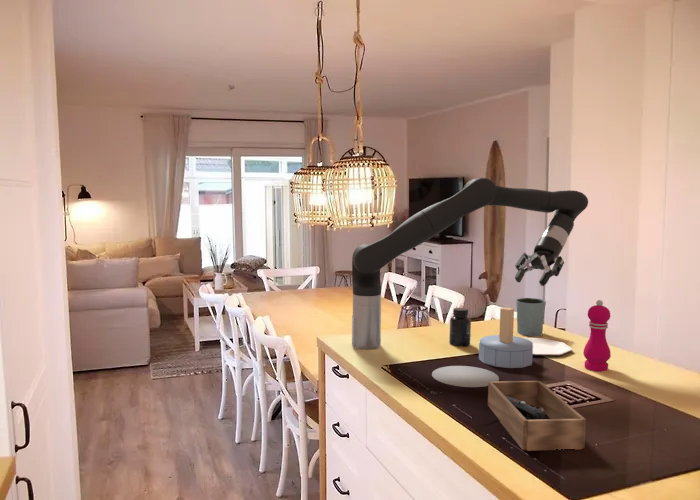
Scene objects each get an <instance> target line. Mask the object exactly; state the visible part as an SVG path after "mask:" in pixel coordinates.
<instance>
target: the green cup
mask: <svg viewBox="0 0 700 500" xmlns="http://www.w3.org/2000/svg"><path fill="white" fill-rule="evenodd" d="M515 304H516V305H515V306H516V328H517V329H516V333H518V334H519V335H521V336H526V337H540V336H542V335H543V329H544V326H543V325H544V319H545V309H546V304H547V301H546V300H544V299H541V298H535V297H520V298H519V297H518V298H517V299H515Z"/></svg>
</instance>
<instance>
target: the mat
mask: <svg viewBox="0 0 700 500" xmlns="http://www.w3.org/2000/svg"><path fill="white" fill-rule="evenodd" d="M431 376H432V378H433V379H434V380H436V381H438V382H440V383H442V384H446V385H450V386H455V387H463V388H482V387H488V383H489V382H491V381H499V380H500V378H499V375H498V374H496V372H493V371H491V370H489V369H485V368H481V367H476V366H468V365H449V366H448V365H447V366H442V367H438V368H437V369H434V370H433V371H432V373H431Z"/></svg>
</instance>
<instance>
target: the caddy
mask: <svg viewBox="0 0 700 500" xmlns="http://www.w3.org/2000/svg"><path fill="white" fill-rule="evenodd" d="M487 387H488V389H487V392H488V393H487V407H489V409H490V410H491V411H492V412H493V414H494V415H495V416H496V418H497V420H498V421H499V423H500V424H501V425H502V426H503V428H505V430H506V431H507V433H508V434H509V436H510V437H512V439H513V440H514V441H515V442H516V444H517V445H518V446H519V447H520V449H521V450H523V451H529V452H530V451H531V452H532V451H565V450H564V449H575V450H582V449H585V446H586V445H585V444H586V442H585V441H586V426H587V425H586V423H587V419H586V418H585V417H584V416H583V415H581V414H580V412H578V411H577V410H575V408H573V407H572V406H571V405H570V404H568V403H567V402H566V401H565V400H564V399H562V398H561V397H560V396H558V394H557V393H556V392H554V391H553V390H552V389H551V388H550V387H548V386H547V385H546V384H545V383H543V382H542V381H540V380H505V381H504V380H503V381H491V382H489V383H488V386H487ZM505 396H508V397H511V398H514V399H517V400H519V401H524V402H525V403H526V404H528V405H530V406H532V407H533V408H534V407H536V408H537V409H539V408H540V409H543V410H544V415H545V416H546V415H547V418H548V419H547V418H546V419H536V420H527V419H526V418H525V417H524V416H523V415H522V414H521V413H520V412H519V411H518V410H517V409H516V407H515V406H514V405H513V404H512V403H511V402H510V401H509V400H508V399H507V398H506V397H505ZM556 449H558V450H556ZM561 449H563V450H561Z"/></svg>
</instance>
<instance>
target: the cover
mask: <svg viewBox="0 0 700 500" xmlns="http://www.w3.org/2000/svg"><path fill="white" fill-rule="evenodd" d="M499 310H500V311H499V314H500V315H499V335H498V334H495V335H486V336H483V337H481V338H479V345H478V360H479V361H481V362H482V363H483V364H485V365H489V366H493V367H496V368H497V367H498V368H506V369H515V368H516V369H521V368H525V367H529V366H532V364H533V356H534V355H533V343H532V342H531V341H529V340H527V339H524V338H525V337H520V336H514V319H515V318H514V317H515V308H511V307H500V309H499Z"/></svg>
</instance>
